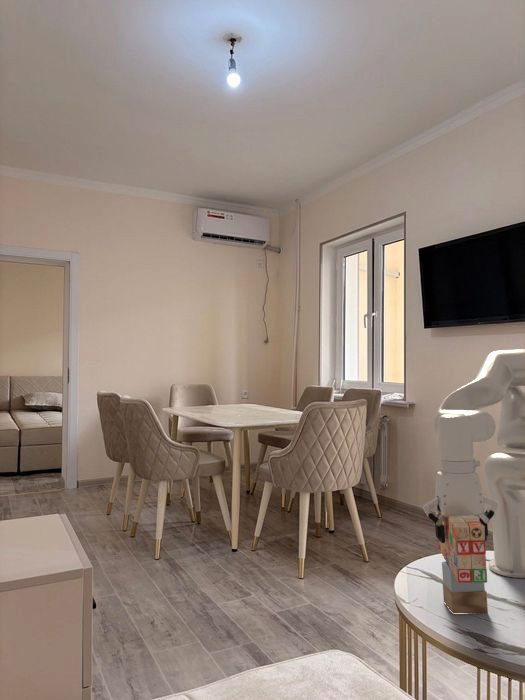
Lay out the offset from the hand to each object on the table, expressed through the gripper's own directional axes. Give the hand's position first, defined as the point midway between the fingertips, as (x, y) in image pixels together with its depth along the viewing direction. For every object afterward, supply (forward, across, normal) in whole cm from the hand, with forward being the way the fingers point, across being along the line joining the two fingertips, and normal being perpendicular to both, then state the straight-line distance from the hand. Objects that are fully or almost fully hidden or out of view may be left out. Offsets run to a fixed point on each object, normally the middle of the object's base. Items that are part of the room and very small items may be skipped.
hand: (462, 540), depth 123 cm
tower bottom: (+16, 0, 0) cm, 16 cm away
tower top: (+11, 0, 0) cm, 11 cm away
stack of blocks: (+6, 0, -1) cm, 6 cm away
